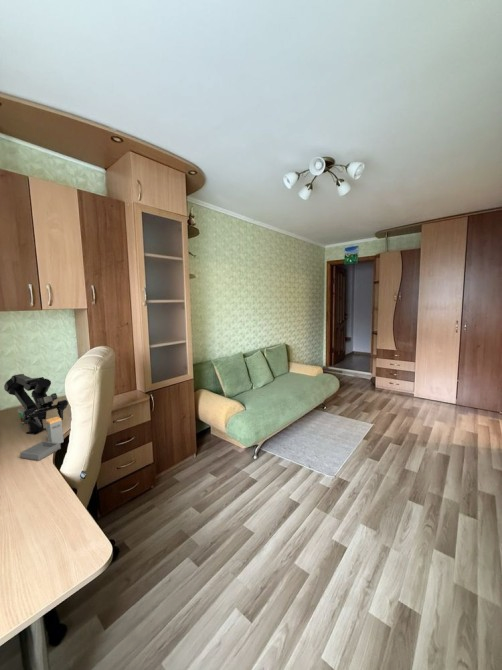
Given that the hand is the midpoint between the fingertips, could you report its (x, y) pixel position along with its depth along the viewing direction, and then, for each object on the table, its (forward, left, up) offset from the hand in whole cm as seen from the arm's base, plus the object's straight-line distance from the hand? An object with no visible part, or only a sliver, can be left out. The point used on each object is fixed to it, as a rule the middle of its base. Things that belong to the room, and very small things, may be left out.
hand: (52, 423), depth 136 cm
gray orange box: (+2, -1, -10) cm, 10 cm away
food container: (-35, +17, -10) cm, 40 cm away
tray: (+5, -10, -10) cm, 15 cm away
